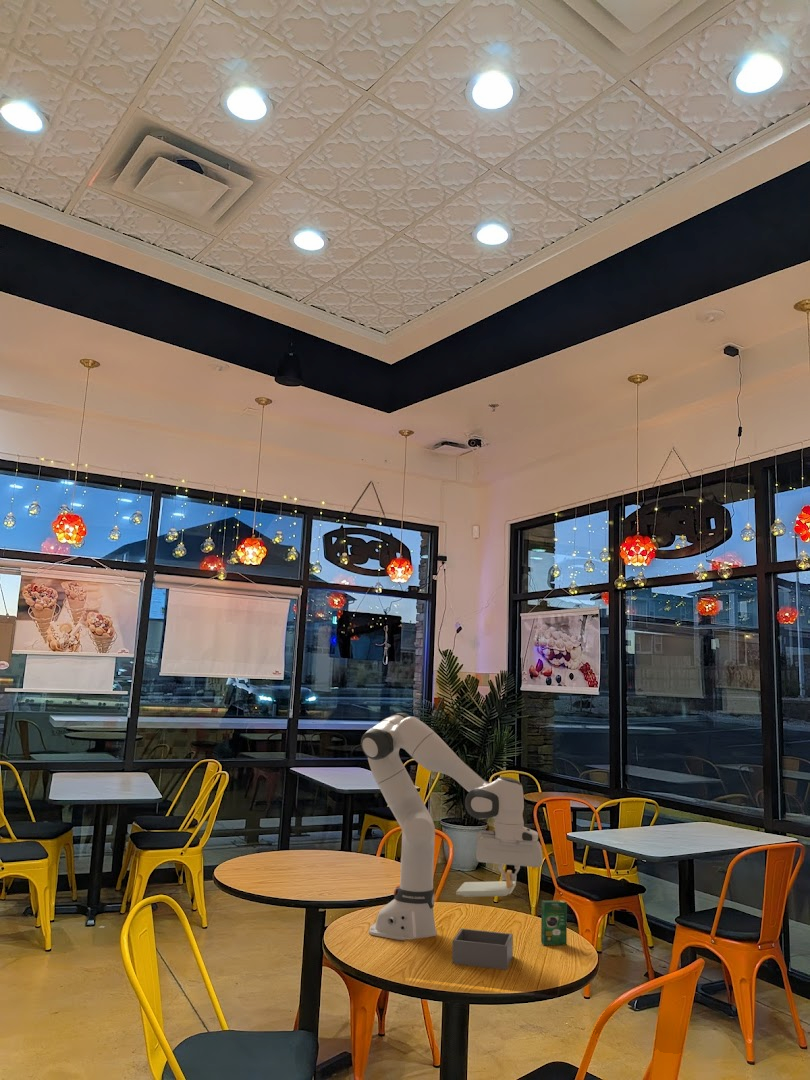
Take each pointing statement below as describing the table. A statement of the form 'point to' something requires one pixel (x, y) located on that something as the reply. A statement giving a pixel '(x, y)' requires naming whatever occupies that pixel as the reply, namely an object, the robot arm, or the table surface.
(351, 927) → the table surface
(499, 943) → the tub
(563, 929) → the coffee box
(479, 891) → the lid
